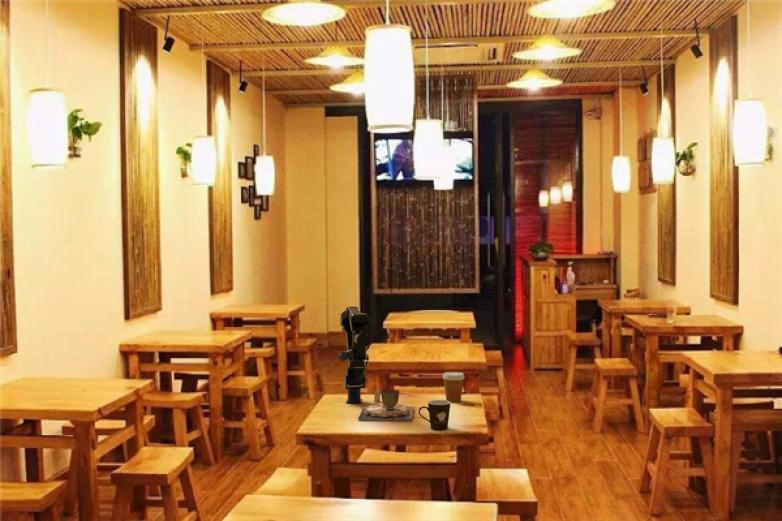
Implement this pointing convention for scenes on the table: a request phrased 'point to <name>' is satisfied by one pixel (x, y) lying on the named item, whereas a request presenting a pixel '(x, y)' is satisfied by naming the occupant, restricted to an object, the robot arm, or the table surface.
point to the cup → (390, 398)
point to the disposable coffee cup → (453, 386)
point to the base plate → (369, 417)
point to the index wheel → (381, 408)
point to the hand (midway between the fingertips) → (359, 380)
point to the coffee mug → (438, 414)
